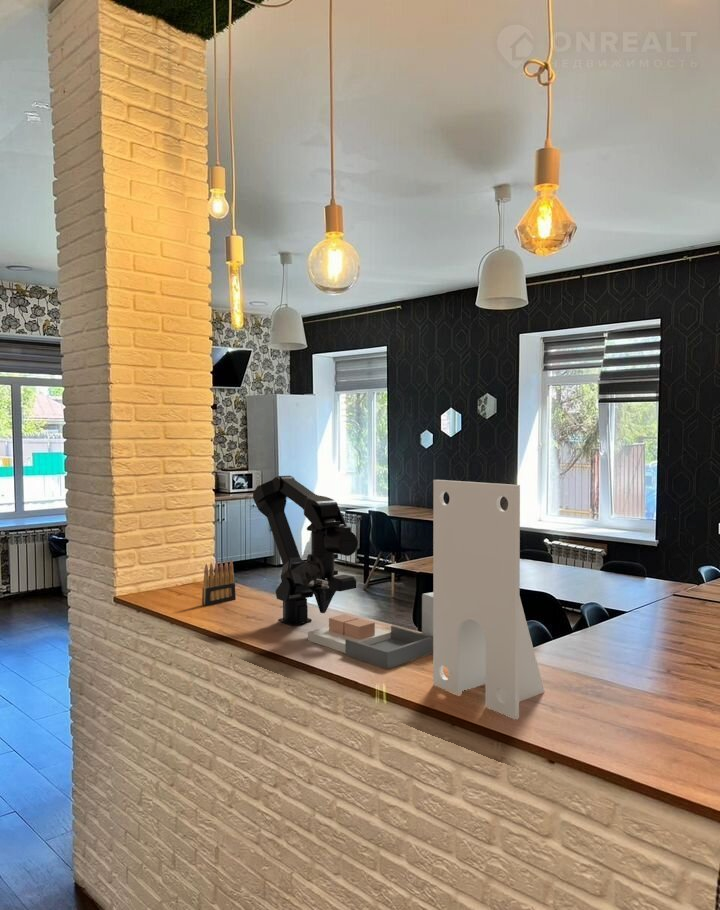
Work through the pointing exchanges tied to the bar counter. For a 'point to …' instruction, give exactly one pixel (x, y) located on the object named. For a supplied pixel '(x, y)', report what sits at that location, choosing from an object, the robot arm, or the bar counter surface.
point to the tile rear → (339, 623)
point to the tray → (392, 648)
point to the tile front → (359, 629)
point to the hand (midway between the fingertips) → (322, 612)
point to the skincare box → (427, 613)
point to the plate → (338, 640)
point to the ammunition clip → (218, 584)
